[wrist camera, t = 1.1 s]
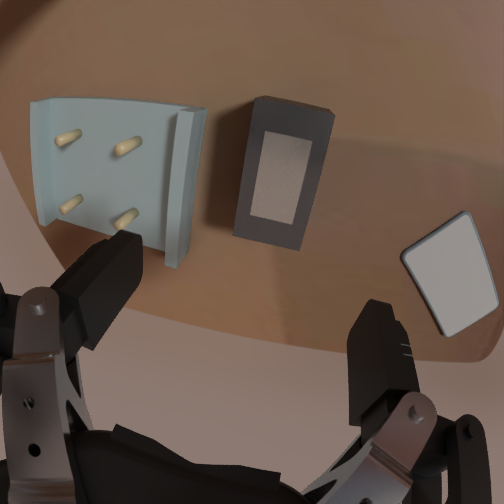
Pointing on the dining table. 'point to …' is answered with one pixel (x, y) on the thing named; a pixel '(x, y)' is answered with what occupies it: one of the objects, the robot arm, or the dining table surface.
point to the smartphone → (453, 274)
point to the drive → (281, 170)
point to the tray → (118, 167)
